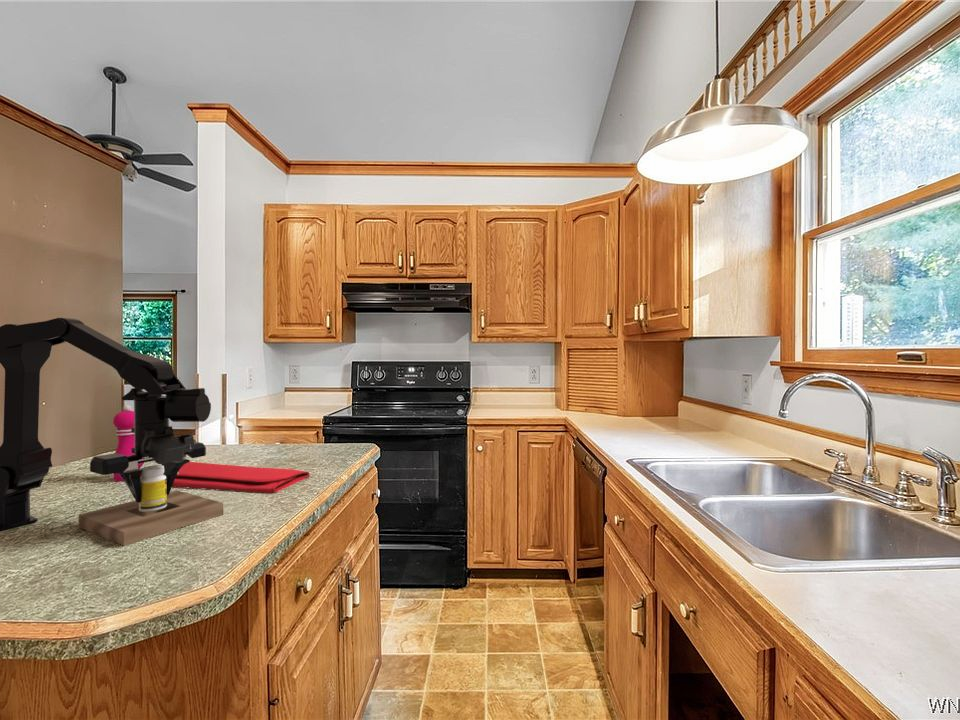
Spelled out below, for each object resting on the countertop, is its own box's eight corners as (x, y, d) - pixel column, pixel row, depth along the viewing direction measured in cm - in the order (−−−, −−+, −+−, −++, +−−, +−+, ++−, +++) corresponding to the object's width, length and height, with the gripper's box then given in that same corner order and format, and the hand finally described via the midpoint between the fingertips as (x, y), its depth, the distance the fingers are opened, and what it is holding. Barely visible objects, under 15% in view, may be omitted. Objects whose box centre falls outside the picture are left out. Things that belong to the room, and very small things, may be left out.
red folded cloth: (273, 496, 111) (273, 480, 111) (132, 486, 119) (132, 472, 119) (310, 478, 127) (309, 464, 126) (183, 471, 135) (182, 458, 135)
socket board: (79, 527, 90) (78, 514, 90) (176, 501, 106) (176, 490, 106) (123, 546, 81) (123, 532, 81) (223, 514, 97) (223, 502, 97)
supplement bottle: (171, 507, 94) (170, 466, 94) (144, 514, 90) (144, 471, 90) (160, 503, 97) (159, 463, 97) (134, 509, 93) (133, 468, 93)
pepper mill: (140, 473, 130) (139, 402, 130) (148, 477, 126) (147, 404, 125) (108, 479, 125) (106, 405, 124) (115, 483, 120) (113, 407, 120)
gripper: (116, 432, 81) (117, 520, 82) (220, 419, 97) (221, 492, 98) (88, 427, 87) (89, 509, 87) (191, 415, 103) (191, 485, 103)
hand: (152, 498), depth 94 cm, fingers closed on supplement bottle, 5 cm apart
